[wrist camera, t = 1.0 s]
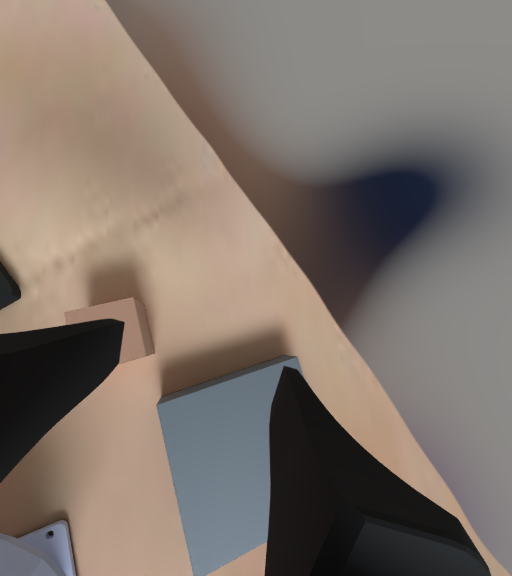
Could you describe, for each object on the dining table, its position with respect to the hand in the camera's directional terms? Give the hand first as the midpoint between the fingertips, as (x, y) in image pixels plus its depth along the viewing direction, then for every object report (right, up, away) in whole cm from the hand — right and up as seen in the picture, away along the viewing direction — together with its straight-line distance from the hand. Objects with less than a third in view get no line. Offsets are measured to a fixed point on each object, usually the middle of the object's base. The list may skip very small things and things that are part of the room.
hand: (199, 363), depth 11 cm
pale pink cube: (-9, -1, +11) cm, 15 cm away
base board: (+1, -11, +12) cm, 16 cm away
